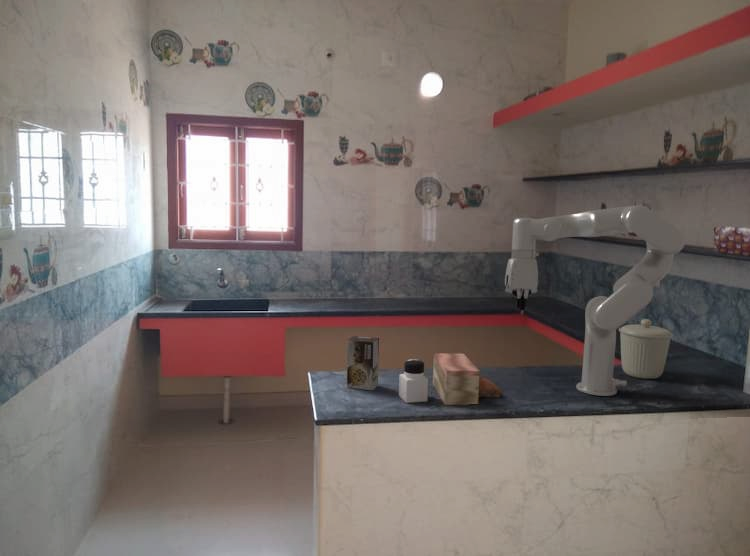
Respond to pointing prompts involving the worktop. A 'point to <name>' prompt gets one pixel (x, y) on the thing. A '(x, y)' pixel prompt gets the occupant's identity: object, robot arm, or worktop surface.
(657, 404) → the worktop surface
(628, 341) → the canister
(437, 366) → the overhang bay
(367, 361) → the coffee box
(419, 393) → the medicine bottle
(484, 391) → the ceramic shard
